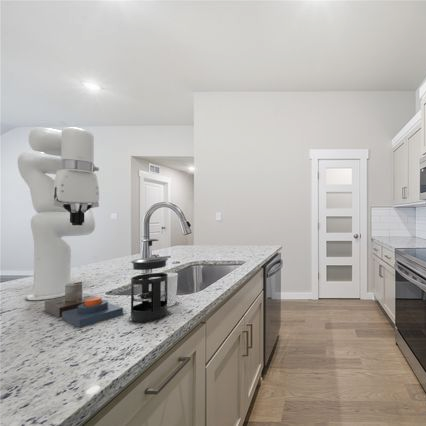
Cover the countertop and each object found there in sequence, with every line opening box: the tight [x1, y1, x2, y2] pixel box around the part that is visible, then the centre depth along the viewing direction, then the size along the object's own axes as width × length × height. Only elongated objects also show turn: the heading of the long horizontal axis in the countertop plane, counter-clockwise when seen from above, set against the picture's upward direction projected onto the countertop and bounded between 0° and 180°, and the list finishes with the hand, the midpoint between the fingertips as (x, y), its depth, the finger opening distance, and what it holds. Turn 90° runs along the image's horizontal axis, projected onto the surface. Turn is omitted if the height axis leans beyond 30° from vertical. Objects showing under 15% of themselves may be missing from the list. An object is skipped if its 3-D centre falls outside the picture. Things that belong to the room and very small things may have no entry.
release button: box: [85, 296, 102, 306], centre depth 75 cm, size 4×4×2 cm
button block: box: [61, 299, 124, 329], centre depth 75 cm, size 12×10×4 cm
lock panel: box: [44, 292, 103, 319], centre depth 81 cm, size 12×10×3 cm
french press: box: [129, 238, 169, 324], centre depth 74 cm, size 12×9×23 cm
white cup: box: [151, 272, 179, 308], centre depth 85 cm, size 8×8×10 cm
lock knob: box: [64, 281, 83, 302], centre depth 81 cm, size 4×4×5 cm
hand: (77, 225), depth 81 cm, fingers closed
